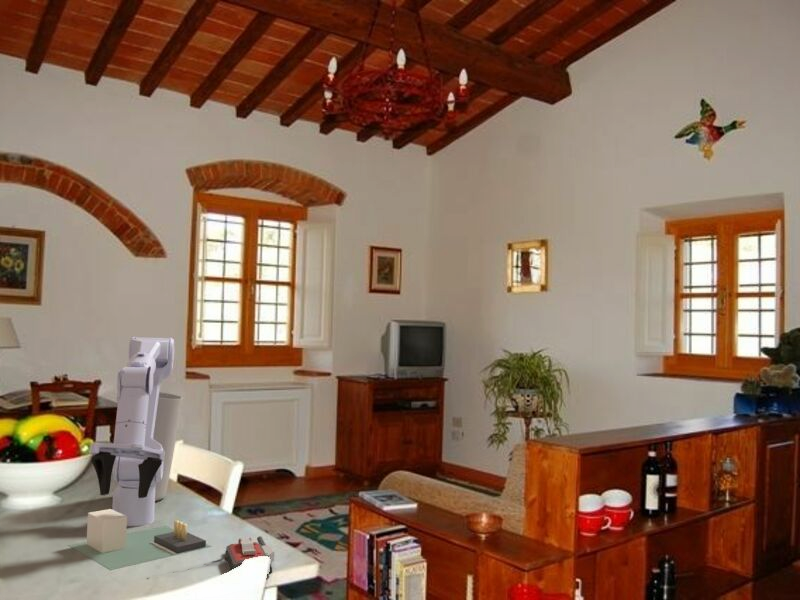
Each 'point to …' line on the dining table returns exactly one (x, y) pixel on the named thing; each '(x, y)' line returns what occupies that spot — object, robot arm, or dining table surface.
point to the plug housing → (106, 530)
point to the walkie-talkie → (247, 551)
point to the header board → (146, 546)
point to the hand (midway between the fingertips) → (123, 496)
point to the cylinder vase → (165, 435)
